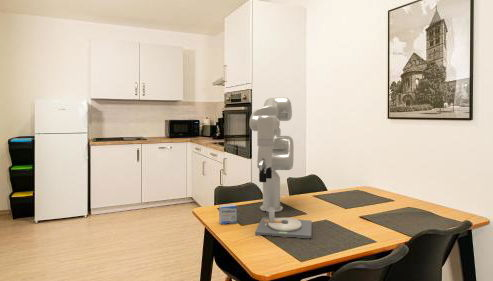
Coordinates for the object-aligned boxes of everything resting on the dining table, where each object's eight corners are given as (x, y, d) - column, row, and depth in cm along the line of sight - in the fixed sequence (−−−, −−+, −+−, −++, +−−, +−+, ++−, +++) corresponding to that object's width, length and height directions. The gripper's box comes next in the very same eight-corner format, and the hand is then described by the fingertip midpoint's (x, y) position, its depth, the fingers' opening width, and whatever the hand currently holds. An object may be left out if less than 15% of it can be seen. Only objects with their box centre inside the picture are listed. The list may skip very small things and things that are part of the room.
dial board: (262, 220, 160) (262, 217, 160) (311, 223, 155) (311, 220, 155) (255, 235, 141) (255, 231, 141) (311, 239, 136) (311, 235, 136)
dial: (302, 221, 154) (302, 205, 153) (300, 232, 139) (300, 214, 138) (266, 218, 157) (266, 203, 157) (261, 229, 143) (261, 212, 142)
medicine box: (220, 224, 154) (220, 207, 154) (219, 221, 159) (218, 204, 158) (236, 223, 157) (236, 205, 156) (234, 220, 161) (234, 203, 160)
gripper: (262, 141, 156) (262, 176, 157) (252, 144, 140) (252, 183, 141) (277, 141, 154) (277, 177, 155) (269, 144, 137) (268, 184, 139)
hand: (265, 180), depth 148 cm, fingers open, 9 cm apart
